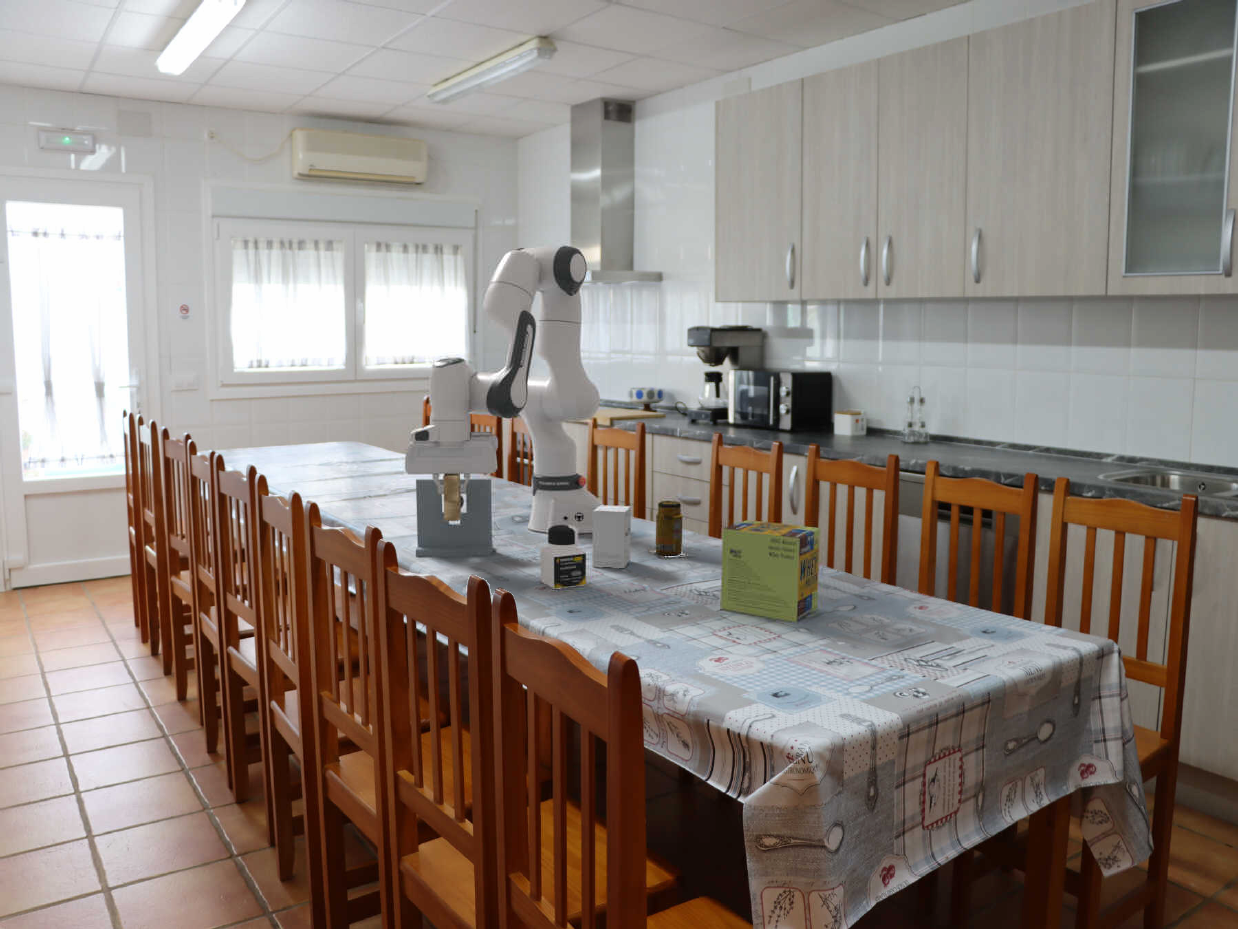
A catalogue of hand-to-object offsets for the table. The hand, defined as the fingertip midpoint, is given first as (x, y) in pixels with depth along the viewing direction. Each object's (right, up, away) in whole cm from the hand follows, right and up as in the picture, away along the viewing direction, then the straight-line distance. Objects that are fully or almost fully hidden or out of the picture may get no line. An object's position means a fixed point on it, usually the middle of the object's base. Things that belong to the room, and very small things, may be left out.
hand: (452, 493), depth 218 cm
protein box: (+65, -21, -36) cm, 78 cm away
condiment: (+49, -14, +7) cm, 52 cm away
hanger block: (0, -5, +3) cm, 6 cm away
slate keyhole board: (-1, -14, +8) cm, 16 cm away
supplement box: (+36, -16, -3) cm, 39 cm away
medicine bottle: (+26, -18, -19) cm, 37 cm away
